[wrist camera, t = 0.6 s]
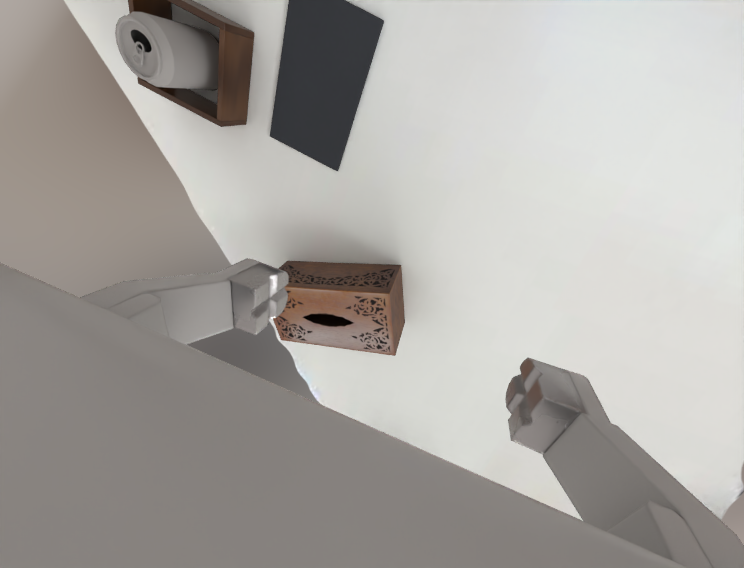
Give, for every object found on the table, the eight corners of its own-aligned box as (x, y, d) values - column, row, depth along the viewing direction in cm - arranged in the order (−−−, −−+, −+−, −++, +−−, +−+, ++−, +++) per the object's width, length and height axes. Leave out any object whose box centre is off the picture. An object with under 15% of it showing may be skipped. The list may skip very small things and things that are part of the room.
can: (234, 50, 42) (164, 34, 32) (225, 100, 46) (161, 99, 36) (191, 17, 41) (106, -10, 31) (186, 71, 45) (110, 63, 36)
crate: (165, -14, 40) (123, -31, 35) (254, 32, 40) (225, 22, 35) (171, 85, 47) (138, 83, 42) (246, 124, 47) (221, 127, 42)
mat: (294, -26, 35) (292, -27, 35) (384, 21, 35) (383, 20, 35) (271, 136, 47) (269, 136, 47) (338, 170, 47) (337, 171, 47)
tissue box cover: (302, 312, 68) (281, 339, 60) (287, 260, 61) (260, 284, 53) (404, 322, 61) (395, 355, 53) (401, 265, 53) (389, 293, 45)
